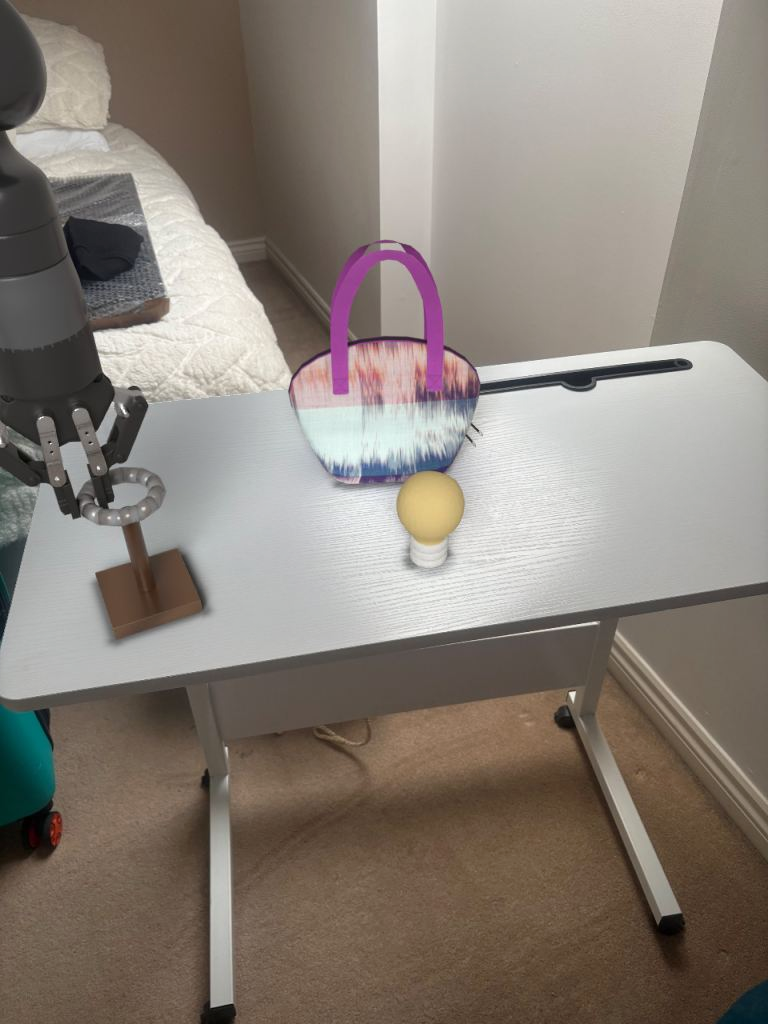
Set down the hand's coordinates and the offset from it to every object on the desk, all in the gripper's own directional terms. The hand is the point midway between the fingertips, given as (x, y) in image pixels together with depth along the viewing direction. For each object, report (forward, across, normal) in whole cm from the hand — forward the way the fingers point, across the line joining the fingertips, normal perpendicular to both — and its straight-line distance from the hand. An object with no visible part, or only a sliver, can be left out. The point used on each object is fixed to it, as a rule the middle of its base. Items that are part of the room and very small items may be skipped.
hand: (88, 508), depth 69 cm
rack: (+12, -3, 0) cm, 12 cm away
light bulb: (+12, -29, +7) cm, 32 cm away
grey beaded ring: (0, -3, 0) cm, 3 cm away
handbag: (+12, -33, -10) cm, 37 cm away
